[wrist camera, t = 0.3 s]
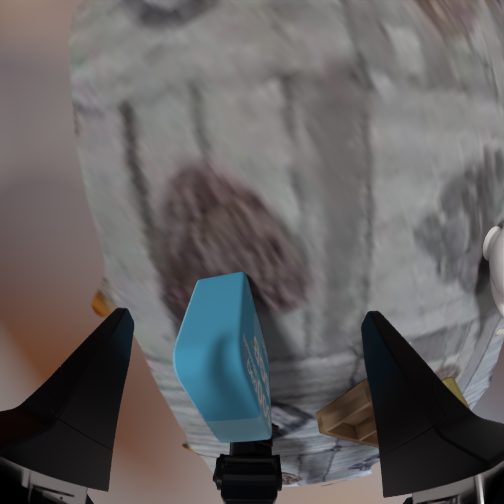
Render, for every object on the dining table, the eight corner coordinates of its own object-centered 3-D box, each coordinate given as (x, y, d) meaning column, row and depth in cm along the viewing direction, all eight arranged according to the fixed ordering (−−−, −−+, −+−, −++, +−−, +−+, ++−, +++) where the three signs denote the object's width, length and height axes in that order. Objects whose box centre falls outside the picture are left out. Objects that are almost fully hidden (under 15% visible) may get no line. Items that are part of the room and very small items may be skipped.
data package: (268, 355, 31) (272, 444, 20) (230, 360, 31) (223, 448, 20) (244, 264, 26) (237, 356, 15) (198, 273, 26) (166, 363, 15)
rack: (397, 438, 42) (401, 452, 39) (315, 413, 36) (318, 433, 32) (434, 413, 39) (440, 426, 36) (365, 378, 33) (373, 398, 29)
